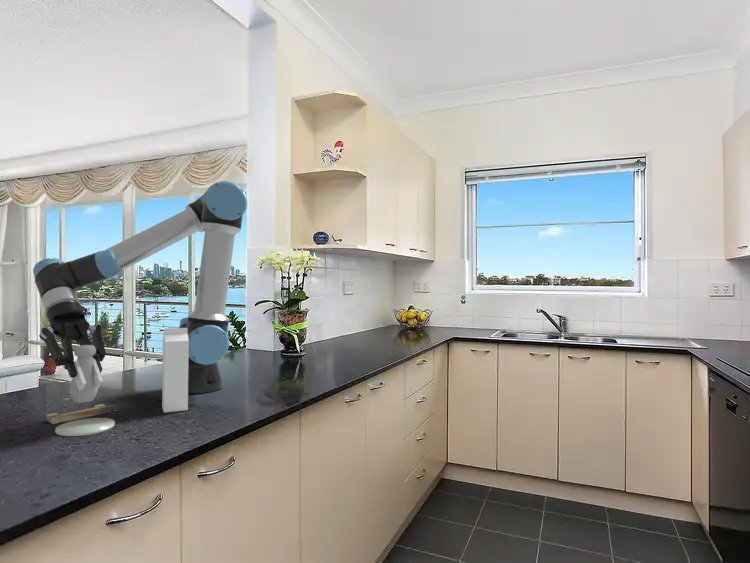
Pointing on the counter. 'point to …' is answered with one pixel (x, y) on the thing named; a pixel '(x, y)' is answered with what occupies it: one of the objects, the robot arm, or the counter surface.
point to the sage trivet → (85, 427)
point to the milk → (175, 370)
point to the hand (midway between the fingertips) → (91, 385)
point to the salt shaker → (86, 365)
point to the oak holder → (78, 414)
